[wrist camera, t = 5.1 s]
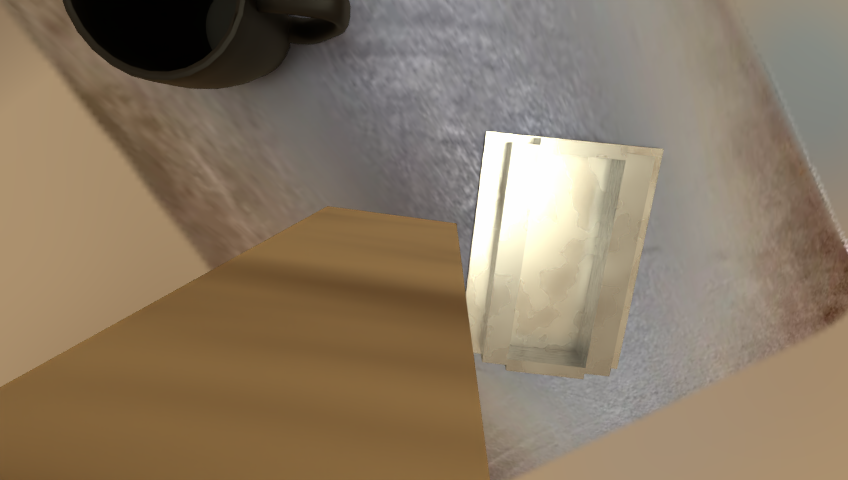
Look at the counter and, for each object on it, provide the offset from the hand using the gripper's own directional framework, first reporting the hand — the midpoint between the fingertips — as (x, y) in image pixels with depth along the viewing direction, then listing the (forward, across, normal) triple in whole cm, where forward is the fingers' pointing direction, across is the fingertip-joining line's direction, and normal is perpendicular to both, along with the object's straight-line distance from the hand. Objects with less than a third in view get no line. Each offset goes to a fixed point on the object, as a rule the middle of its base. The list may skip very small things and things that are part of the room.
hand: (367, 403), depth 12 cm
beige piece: (+19, +9, +1) cm, 21 cm away
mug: (+19, -10, +12) cm, 25 cm away
